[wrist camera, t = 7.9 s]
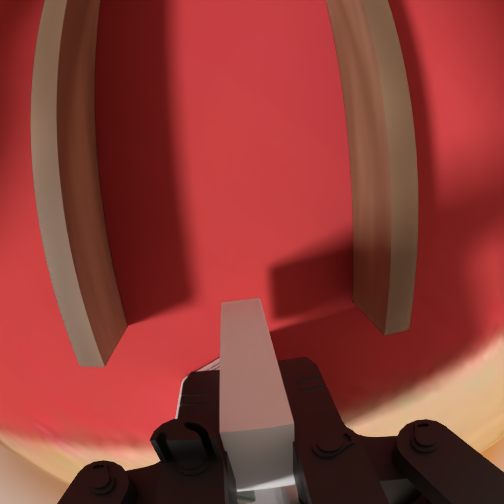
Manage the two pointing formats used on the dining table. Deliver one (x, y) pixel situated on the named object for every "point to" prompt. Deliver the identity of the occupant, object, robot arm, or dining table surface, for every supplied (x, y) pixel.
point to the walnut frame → (89, 192)
